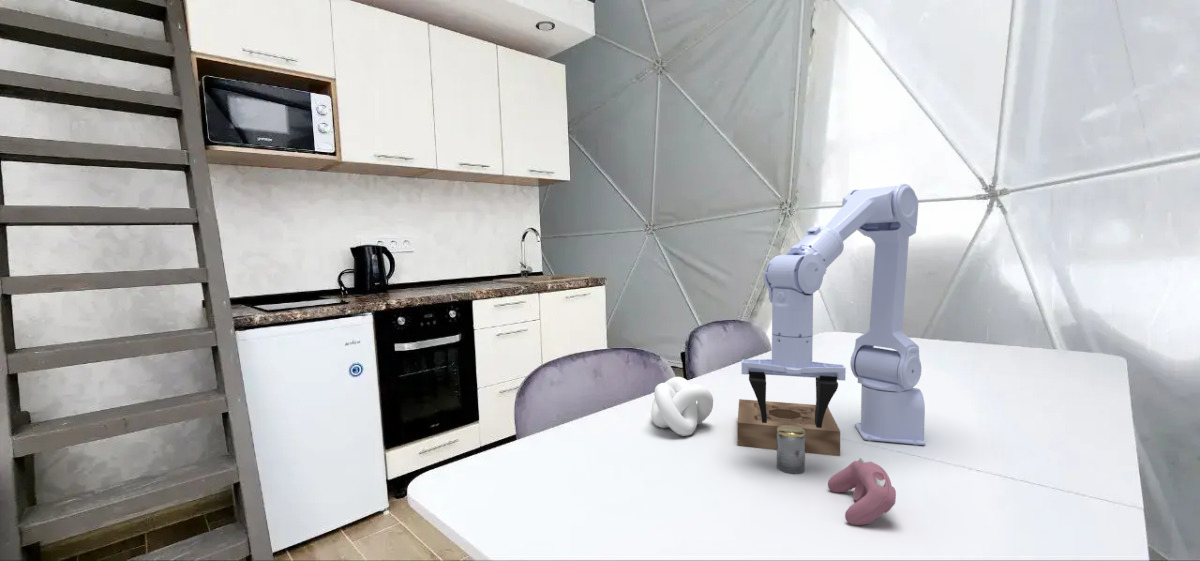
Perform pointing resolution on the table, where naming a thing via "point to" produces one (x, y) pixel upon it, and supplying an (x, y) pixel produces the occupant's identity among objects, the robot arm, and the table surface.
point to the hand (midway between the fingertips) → (790, 423)
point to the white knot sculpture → (681, 405)
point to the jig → (781, 414)
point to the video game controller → (864, 491)
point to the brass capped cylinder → (791, 449)
